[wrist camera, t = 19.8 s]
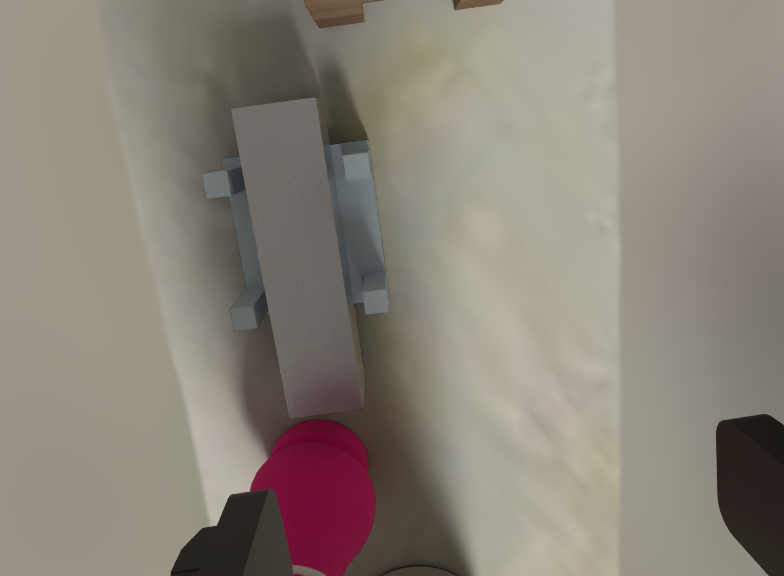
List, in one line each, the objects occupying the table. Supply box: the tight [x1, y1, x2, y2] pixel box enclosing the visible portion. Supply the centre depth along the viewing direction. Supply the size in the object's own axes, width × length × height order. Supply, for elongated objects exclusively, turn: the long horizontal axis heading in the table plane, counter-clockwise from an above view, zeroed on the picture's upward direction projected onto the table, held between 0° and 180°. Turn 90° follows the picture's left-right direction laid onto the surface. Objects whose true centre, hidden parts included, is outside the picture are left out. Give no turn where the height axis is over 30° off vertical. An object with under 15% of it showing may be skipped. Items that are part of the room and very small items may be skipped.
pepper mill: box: [250, 420, 376, 576], centre depth 29 cm, size 7×7×20 cm
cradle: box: [202, 140, 389, 331], centre depth 32 cm, size 9×8×5 cm
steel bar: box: [231, 97, 365, 419], centre depth 32 cm, size 16×4×4 cm, turn 7°
